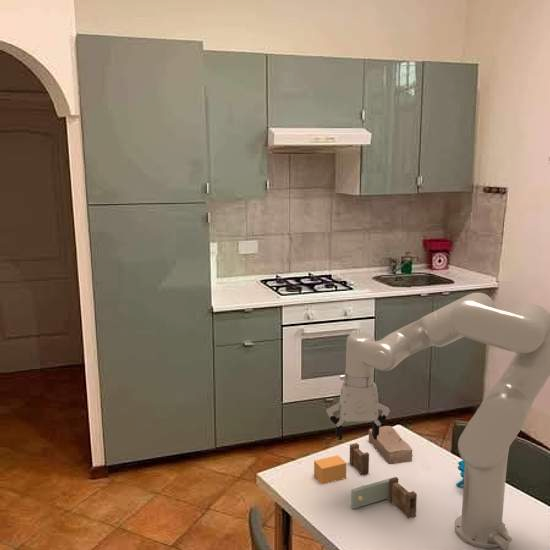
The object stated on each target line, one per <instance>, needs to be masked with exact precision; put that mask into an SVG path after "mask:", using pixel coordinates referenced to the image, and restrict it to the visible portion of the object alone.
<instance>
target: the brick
mask: <svg viewBox="0 0 550 550" xmlns="http://www.w3.org/2000/svg"><path fill="white" fill-rule="evenodd" d="M368 442H369V443H370V445H372V444H373V445H372V447H373V446H374V448H376V449H377V450H376V449H375V450H376V451H377V452H378V453H379V455H381V456H382V457H383V459H384V460H385V461H386V462H387V463H388V464H390V465H396V464H401V463H403V464H404V463H411V462H412V461H413V448H412V447H411V445H409V444H408V443H407V442H406V441H405V440H404V439H403V438H402V437H401V436H400V434H398V432H397V431H396V429H394V427H393V426H392V425H391V426H390V425H384V426H379V435H377V440H375V439H374V438H373V436H372V428H369V429H368Z"/></svg>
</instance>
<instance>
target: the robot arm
mask: <svg viewBox="0 0 550 550" xmlns="http://www.w3.org/2000/svg"><path fill="white" fill-rule="evenodd" d="M462 338H466V339H469V340H472V341H474V342H478V343H481V344H485V345H488V346H491V347H494V348H498V349H501V350H505V351H507V352H511V353H515V354H514V355H513V357H512V358H511V361H510V363H509V364H508V365H507V366H506V369H505V370H504V372H503V374H502V375H501V376H500V378H499V379H498V380H497V382H496V383H495V384H494V385H493V386H492V387H491V388H490V390H489V391H488V393H487V394H486V396H485V397H484V398H483V401H481V404H480V405H479V406H478V408H477V410H476V411H475V413H474V415H473V416H472V417H471V419H470V420H469V421H468V423H467V424H466V426H465V428H464V430H463V431H462V433H461V434H460V437H459V439H458V442H457V450H458V454H459V456H460V458H461V461H462V460H463V461H464V462H465V472H464V484H463V488H462V489H463V490H462V491H463V492H462V506H461V507H462V508H461V515H459V516H458V517H456V519H455V521H454V531H455V533H456V534H457V536H458V538H459V537H460V539H462V540H463V541H464V542H466V543H468V544H470V545H472V546H475V547H479V548H484V549H494V548H499V547H500V548H501V549H503V550H506V549H507V548H508V547H509V543H511V542H512V541H513V537H512V536H510V535H509V533H508V530H507V527H506V524H505V523H504V522H503V516H504V503H505V489H506V481H507V480H506V479H507V477H506V476H507V468H508V467H507V466H508V458H509V457H508V456H509V453H510V452H509V451H510V446H511V445H512V443H513V442H514V441H515V439H516V437H517V436H518V434H519V433H520V431H522V429H523V427H524V425H525V423H526V421H527V418H528V416H529V414H530V412H531V409H532V406H533V404H534V401H535V400H536V398H537V397H538V395H539V394H540V392H541V391H542V389H543V388H544V386H545V384H546V382H547V381H548V379H549V378H550V312H549V311H548V310H547V309H546V308H544V307H543V306H540V305H539V304H533V303H532V304H531V303H528V304H523V305H521V306H519V307H518V308H516V309H515V310H514V311H513V312H510V311H506V310H502V309H499V308H497V307H496V304H495V302H494V300H493V299H492V298H491V296H489V295H488V294H486V293H483V292H473V293H469V294H466V295H465V296H462V297H460V298H458V299H456V300H454V301H452V302H450V303H448V304H447V305H444V306H442V307H441V308H439V309H436V310H435V311H432V312H430V313H428V314H426V315H424V316H422V317H421V318H419V319H417V320H415V321H413V322H411V323H408V324H407V325H405V326H402V327H401V328H398V329H397V330H395V331H393V332H391V333H388V335H385V336H384V337H383V338H382V339H379V340H377V341H376V339H375V337H374V336H373V335H372V334H370V333H365V332H354V333H350V334H349V335H348V336H347V337H346V347H345V348H346V349H345V350H346V351H345V352H346V353H345V371H344V373H343V374H341V375H339V380H340V381H343V382H342V385H341V388H340V389H341V390H340V396H339V402H337V403H336V404H334V405H331V406H330V407H327V408H326V410H325V411H326V413H327V416H328V418H329V419H330V421H331V422H332V423H333V424H334V425H335V436H336V437H337V438H338V440H339V441H342V440H343V426H342V424H343V423H344V422H346V423H362V422H363V423H366V422H371V424H372V425H371V429H372V436H373V438H374V439H375V440H377V435H379V427H381V425H382V423H384V422H385V420H386V419H387V417H388V416H389V414H390V412H391V410H390V408H389V407H388V406H385V405H384V404H382V403H379V395H378V386H377V384H376V383H375V381H374V379H375V369H376V370H377V371H381V372H382V371H383V372H388V371H391V370H393V369H394V368H395V367H397V366H398V365H399V364H400V363H401V362H402V361H403V360H404V359H406V358H408V357H410V356H412V355H413V354H415V353H418V352H420V351H423V350H425V349H428V348H430V347H438V348H442V347H445V346H447V345H449V344H452V343H454V342H455V341H458V340H460V339H462ZM379 410H380V411H382V413H380V414H379ZM335 412H338V413H339V414H338V416H336V415H335V414H334V413H335Z"/></svg>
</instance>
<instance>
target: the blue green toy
mask: <svg viewBox="0 0 550 550" xmlns="http://www.w3.org/2000/svg"><path fill="white" fill-rule="evenodd" d="M457 464H458V466H457V469H458V470H459V471H460V473H459V475H460V477H461V478H462V480H460V481H458V482H457V483H456V486H457V487H458V488H459V487H461V486H462V485H463V486H464V472H465V462H464V461H463V460H462V459H461V460H460V461H458V462H457Z"/></svg>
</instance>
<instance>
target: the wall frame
mask: <svg viewBox="0 0 550 550" xmlns="http://www.w3.org/2000/svg"><path fill="white" fill-rule="evenodd" d="M349 465H350V466H351V467H354V468H355V469H356V470H357V471H358V472H359V473H360V475H361V476H366V475H369V474H370V473H369V471H370V470H369V469H370V468H369V467H370V453H368V452H367V451H366V452H363V451H362V450H361V449H360V445H359V443H358V442H355V443H354V442H353V443H351V444H349ZM388 479H389V498H388V501H389V502H390V503H392V504H394V506H396V507H397V508H398V509H399V510H400V511H401V512H402V513H403V514H404V516H405V517H406V518H407V519H411V518H415V517H416V516H417V496H418V494H417V493H416V492H415V491H413V490H412V491H408V490H407V489H406V488H405V487H404V486H403V485H401V484H400V483H399V477H397V476H393V477H391V478H388Z"/></svg>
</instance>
